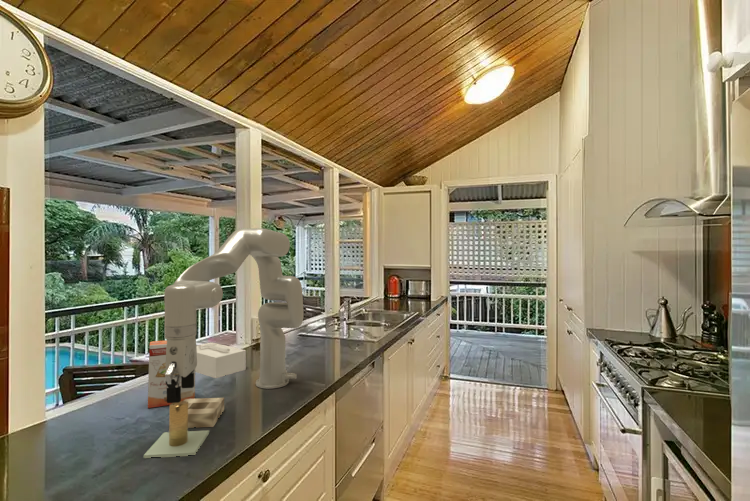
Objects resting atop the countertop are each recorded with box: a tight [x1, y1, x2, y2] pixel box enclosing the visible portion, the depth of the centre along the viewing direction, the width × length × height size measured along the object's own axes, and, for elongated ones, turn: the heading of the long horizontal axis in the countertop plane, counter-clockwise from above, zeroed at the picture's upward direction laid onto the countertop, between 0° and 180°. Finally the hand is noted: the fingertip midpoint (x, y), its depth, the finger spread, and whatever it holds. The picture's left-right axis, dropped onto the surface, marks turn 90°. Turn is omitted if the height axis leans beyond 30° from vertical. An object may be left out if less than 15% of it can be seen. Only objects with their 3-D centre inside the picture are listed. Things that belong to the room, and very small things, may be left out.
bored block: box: [184, 397, 225, 429], centre depth 117 cm, size 12×12×4 cm
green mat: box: [143, 429, 210, 459], centre depth 101 cm, size 12×12×1 cm
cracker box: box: [147, 339, 196, 409], centre depth 129 cm, size 14×6×21 cm, turn 117°
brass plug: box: [168, 401, 189, 446], centre depth 101 cm, size 4×4×10 cm
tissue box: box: [195, 341, 247, 379], centre depth 167 cm, size 14×25×11 cm, turn 56°
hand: (181, 394), depth 101 cm, fingers open, 9 cm apart
